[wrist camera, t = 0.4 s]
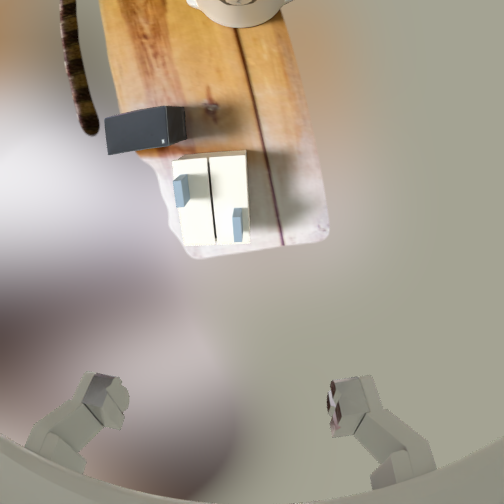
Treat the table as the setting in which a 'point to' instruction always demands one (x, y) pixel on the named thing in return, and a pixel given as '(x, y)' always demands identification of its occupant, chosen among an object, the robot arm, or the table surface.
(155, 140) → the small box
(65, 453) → the robot arm
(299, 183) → the table surface
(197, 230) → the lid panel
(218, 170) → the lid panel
